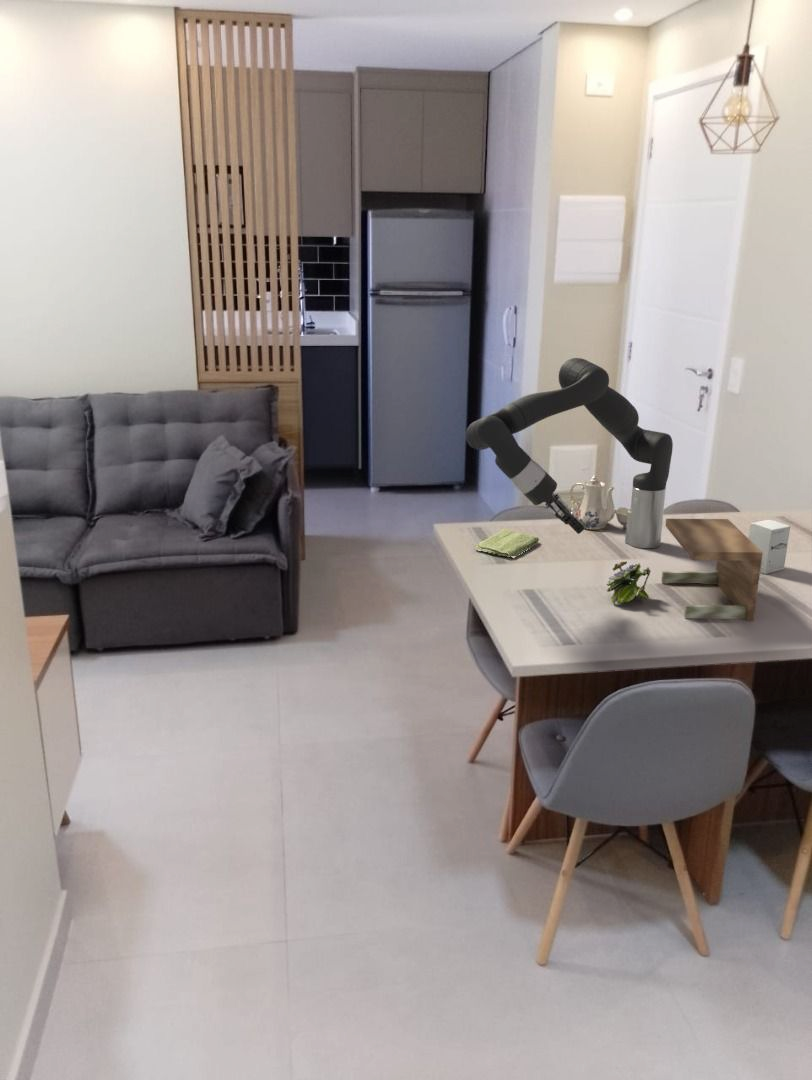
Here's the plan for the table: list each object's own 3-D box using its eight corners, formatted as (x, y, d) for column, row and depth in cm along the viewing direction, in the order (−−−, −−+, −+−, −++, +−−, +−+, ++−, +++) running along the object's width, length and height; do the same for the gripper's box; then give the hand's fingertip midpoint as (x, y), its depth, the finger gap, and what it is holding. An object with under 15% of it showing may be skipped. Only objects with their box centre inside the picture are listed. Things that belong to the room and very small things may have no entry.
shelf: (686, 620, 206) (693, 551, 201) (660, 580, 230) (666, 518, 224) (753, 620, 206) (762, 552, 200) (720, 581, 230) (728, 519, 224)
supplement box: (765, 575, 234) (771, 529, 230) (743, 566, 240) (749, 522, 236) (784, 570, 237) (791, 525, 233) (762, 561, 243) (768, 518, 239)
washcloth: (472, 552, 252) (472, 542, 251) (503, 536, 265) (503, 526, 264) (512, 562, 245) (512, 551, 244) (542, 545, 258) (542, 534, 257)
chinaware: (649, 532, 273) (657, 479, 269) (622, 539, 261) (629, 484, 257) (573, 513, 291) (579, 464, 287) (544, 520, 279) (550, 468, 275)
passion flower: (615, 613, 223) (625, 569, 226) (655, 617, 216) (664, 571, 219) (594, 600, 216) (604, 554, 218) (634, 604, 208) (644, 556, 211)
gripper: (548, 477, 202) (598, 528, 206) (541, 463, 215) (588, 512, 218) (524, 499, 204) (573, 549, 208) (518, 484, 217) (565, 532, 220)
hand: (581, 530), depth 213 cm, fingers closed
